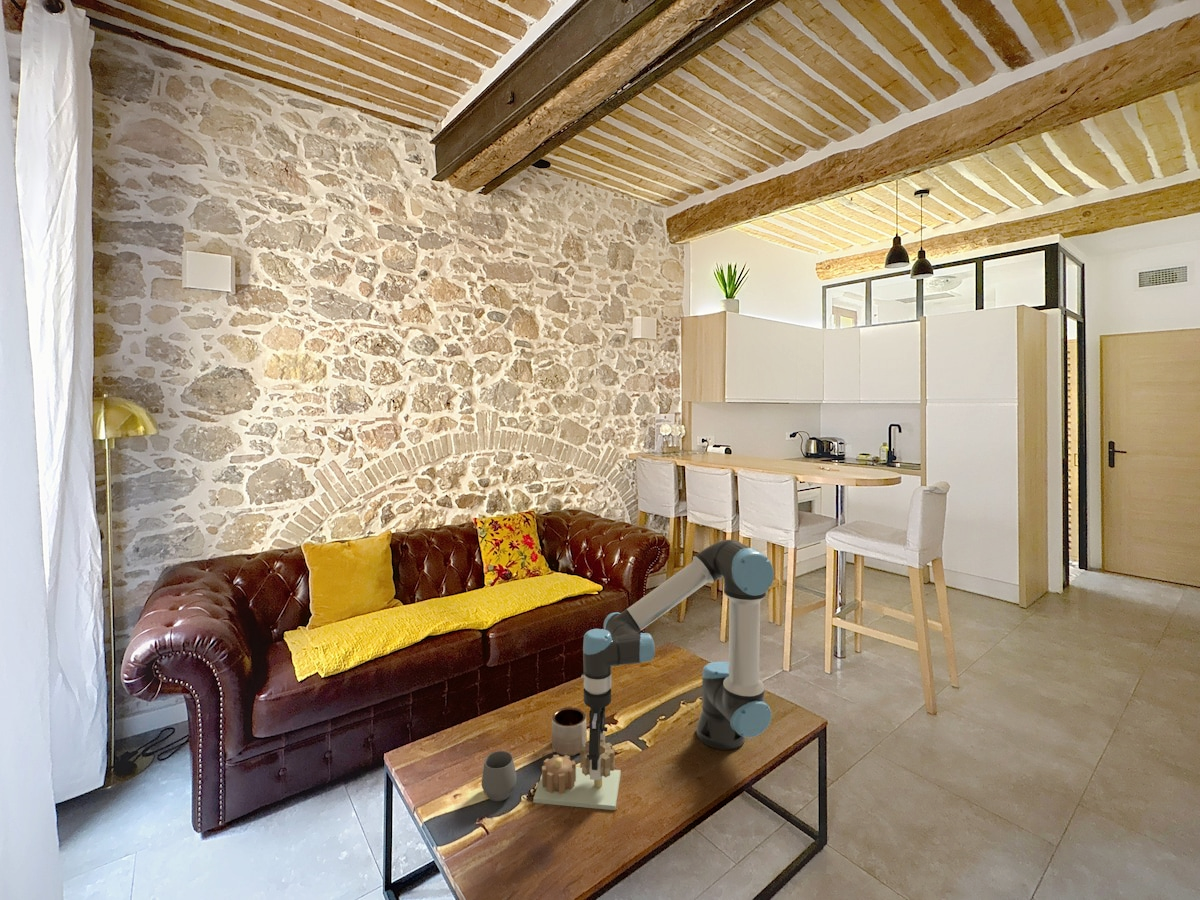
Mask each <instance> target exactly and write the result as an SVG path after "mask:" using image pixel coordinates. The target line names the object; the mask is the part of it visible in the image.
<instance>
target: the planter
mask: <svg viewBox="0 0 1200 900" xmlns="http://www.w3.org/2000/svg"><path fill="white" fill-rule="evenodd" d="M587 729H588V728H587V714H586V712H585V711H584V710H583V709H580V708H577V707H574V706H570V707H569V706H568V707H562V708H559V709H557V710H556V711H554V712H553V714H552V716H551V747H552V749H553V750H554V752H555V753H556V754H559V755H562V756H565V755H567V756H570V757H571V756H575V755H578V754H579V755H580V750H581V747H585V743H586V742H588V738H587V737H588V733H587V731H588V730H587Z"/></svg>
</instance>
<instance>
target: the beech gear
mask: <svg viewBox="0 0 1200 900" xmlns="http://www.w3.org/2000/svg"><path fill="white" fill-rule="evenodd" d="M599 754H600V777H601V776H604V777H605V778H606V777H608V776H610V770H611V771H614V770H615V749H613V744H612V743H611V742H605V743H604V742H603V740H600V753H599ZM579 755H580V757H579V759H580V760H579V762H580V763H579V764H580V766H579V767H580V768H582V773H583V774H584V775H585V776H586V775H588V774H589V775H590V760H589V758H588V757H587V755H589V740H587V742H586V743H585V747H581V750H580V753H579Z"/></svg>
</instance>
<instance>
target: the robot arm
mask: <svg viewBox="0 0 1200 900" xmlns="http://www.w3.org/2000/svg"><path fill="white" fill-rule="evenodd" d="M722 578H723V593H724V595H725V596H726V597H727V598H728V600H729V601H728V602H729V603H728V604H729V608H728V609H729V610H728V661H713V662H708V663H706V664H705V665H704V667H703V668H702V675H701V679H702V685H701V686H702V709H701V712H700V715H699V718H698V720H697V723H696V736H697V738H698V740H699V741H700V742H701V743H702V744H704V745H706V746H708V747H711V748H713V749H716V750H722V751H724V750H725V751H728V750H729V751H730V750H734V749H738V748H740V747H741V746H742V745H744V743H745V741H746V738H748V739H750V738H751V739H752V738H755V737H758V736H760V735H761V734H763V733H764V731H765V730H767V728H768V727H769V725H771V721H772V715H773V714H772V711H771V708H770V705H768V703H767V702H765V684H764V683H763V682H762V680H760V640H761V639H760V637H761V636H760V635H761V634H760V633H761V632H760V631H761V625H760V623H761V601H763V599H765V598H766V596H767V595H766V594H767V592H768V591H769V589H770V588H769V587H771V586H772V584H773V581H774V579H775V571H774V567H773V564H772V562H771V561H770V559H769V558H768V557H767V556H766V555H765V554H763V553H762V552H761V551H759V550H758V549H755V548H752V547H751V546H748V545H746V544H744V543H742V542H740V541H738V540H734V539H724V540H720V541H717V542H715V543H713V544H711V545H709V546H707V547H706V548H704V549H702V550H701V551H699V552H698V553H697V554H696V555H694V556H692V562H690V563H689V564H687V565H686V566H685V567H683V568H682V569H681V570H678V572H676V573H675V574H673V575H672V576H671V577H669V578H668V579H667V580H665V581H664V582H662V583H661V584H660V585H658V586H657V587H655V588H654V589H652V590H651V591H650V592H648V593H647V594H646V595H645V596H643V597H641V598H640V599H639V600H638V601H636V602H634V603H633V604H632V605H630V606H629V607H628V608H625V610H623V611H622V612H618V611H617V612H611V613H609V614H607V616H606V617H605V618H604V621H603V628H593V629H589V630H587V631H586V632H585V633H584V635H583V641H582V642H583V643H582V645H583V646H582V651H583V652H582V656H583V659H582V661H583V662H582V663H583V674H581V679H582V680H583V703H584V704H585V706H587V707H589V708H590V710H589V714H588V716H589V721H588V723H589V725H588V726H589V732H588V733H589V735H588V736H589V737H588V739H589V740H588V741H589V755H587V757H588V758H589V760H590V779H592V780H600V754H599V753H600V740H603V742H604V743H606V732H608V727H607V726H606V724H607V723H606V721H607V720H606V707H608V706H609V705H610V704H611V702H612V667H618V666H625V665H634V664H642V663H646V662H651V661H653V660H654V657H655V654H656V652H655V651H656V649H655V648H656V646H655V641H654V638H653V636H652V634H651V633H648V632H641V631H643V630H644V629H645V628H647V627H648V626H650V625H651V624H652V623H654V622H655V621H656V620H658V619H659V618H660V617H662V616H664V615H665V614H667V612H669V611H670V610H672V609H673V608H675V607H676V606H677V605H678V604H680V603H681V602H683V601H684V600H686V599H687V598H688V597H690V596H691V595H693V594H694V593H695V592H696V591H698V590H699V589H700V588H702V587H703V586H705V585H706V584H708V583H709V584H714V583H715V582H717V580H720V579H722Z"/></svg>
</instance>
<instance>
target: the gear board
mask: <svg viewBox="0 0 1200 900" xmlns="http://www.w3.org/2000/svg"><path fill="white" fill-rule="evenodd" d="M576 765H577V764H576V762H575V760H571V756H567V755H563V756H560V754H559V753H557V754H553V755H552V758H546V759H545V760H543V765H542V766H541V775H540V779H539V781H538V784H537V787H536V790H535V793H534V795H533V798H532V799H533V800H532V801H533V803H534V804H544V805H554V806H563V807H564V806H565V807H576V808H587V809H596V810H597V809H598V810H609V811H616V809H617V803H618V795H619V789H620V788H619V787H620V781H621V774H622V773H621V772H622V771H621V769H614V771H611V770H610V776H608V777H606V778H605V777H604V776H601V777H600V780H592V779H590V775H589V774H588V775H586V776H585V775H584V774H583V773H582V768H580V766H576Z"/></svg>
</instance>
